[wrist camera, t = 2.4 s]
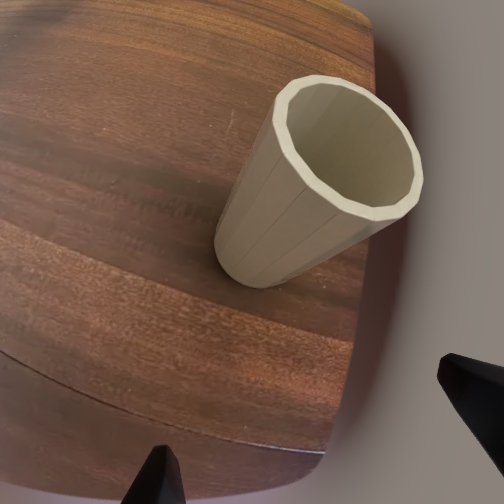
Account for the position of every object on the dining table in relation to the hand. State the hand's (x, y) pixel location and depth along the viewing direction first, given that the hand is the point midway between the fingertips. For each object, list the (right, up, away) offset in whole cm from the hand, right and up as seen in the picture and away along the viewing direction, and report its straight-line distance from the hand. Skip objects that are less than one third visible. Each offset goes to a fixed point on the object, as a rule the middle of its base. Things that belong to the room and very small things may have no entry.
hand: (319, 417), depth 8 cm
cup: (-2, +5, +14) cm, 15 cm away
